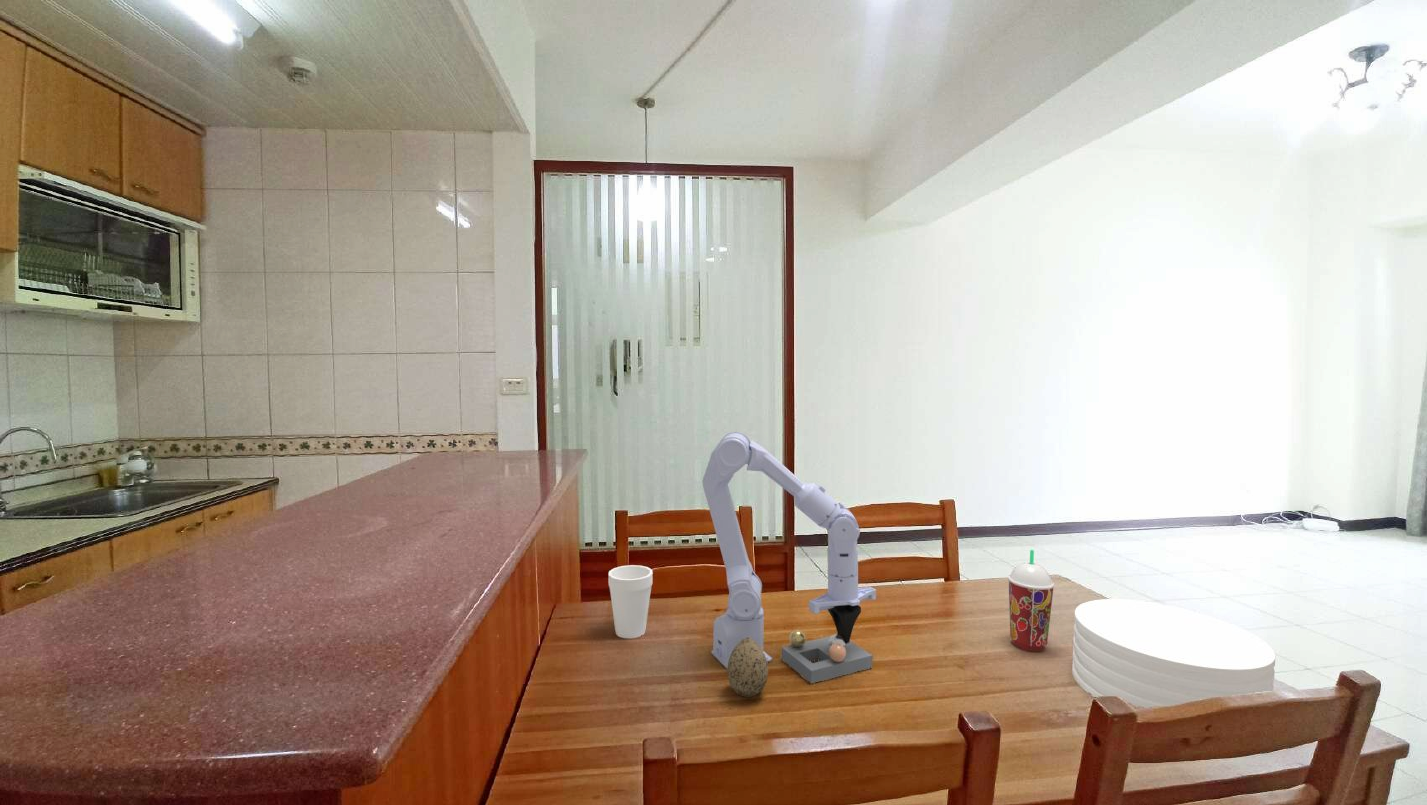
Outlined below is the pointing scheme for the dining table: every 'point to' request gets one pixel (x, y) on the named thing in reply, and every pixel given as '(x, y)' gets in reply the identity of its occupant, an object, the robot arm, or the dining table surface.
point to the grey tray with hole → (825, 660)
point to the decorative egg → (747, 668)
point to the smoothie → (1030, 605)
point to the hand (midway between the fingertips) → (843, 641)
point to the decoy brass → (797, 638)
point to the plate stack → (1165, 654)
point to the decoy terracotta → (837, 652)
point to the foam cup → (630, 599)
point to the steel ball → (836, 640)
